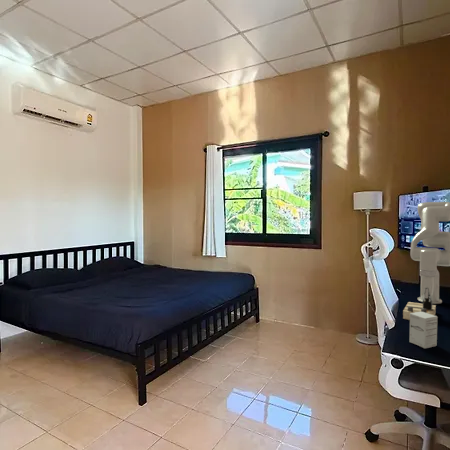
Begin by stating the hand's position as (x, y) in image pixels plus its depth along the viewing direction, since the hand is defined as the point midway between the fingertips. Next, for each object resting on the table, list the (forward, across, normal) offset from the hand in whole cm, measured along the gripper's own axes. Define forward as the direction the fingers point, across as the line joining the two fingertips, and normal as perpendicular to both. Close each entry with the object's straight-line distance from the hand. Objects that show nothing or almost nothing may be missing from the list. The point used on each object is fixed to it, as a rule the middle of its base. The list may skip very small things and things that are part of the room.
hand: (427, 307), depth 172 cm
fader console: (+5, 0, -4) cm, 6 cm away
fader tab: (0, 0, 0) cm, 0 cm away
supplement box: (+5, +41, +2) cm, 41 cm away
